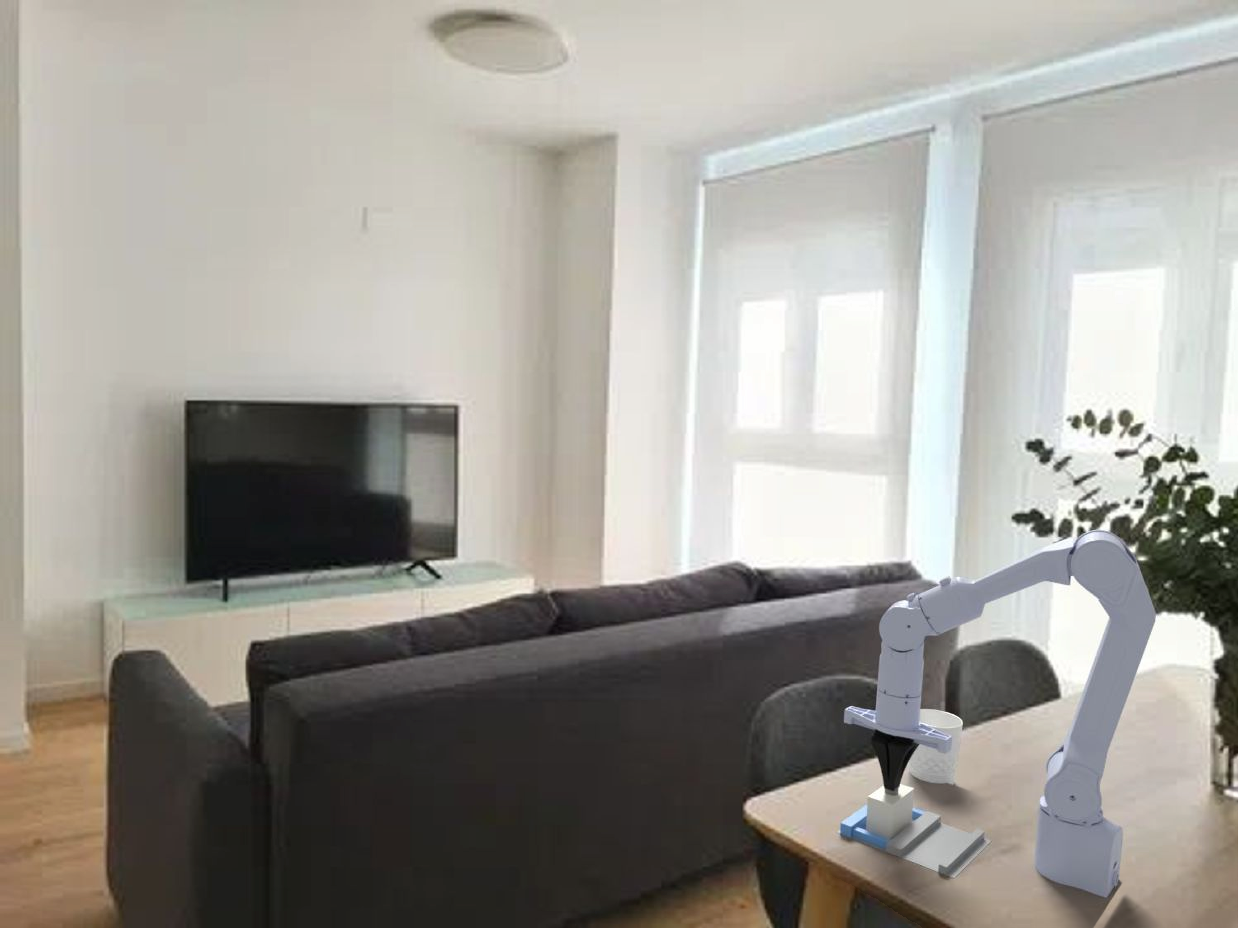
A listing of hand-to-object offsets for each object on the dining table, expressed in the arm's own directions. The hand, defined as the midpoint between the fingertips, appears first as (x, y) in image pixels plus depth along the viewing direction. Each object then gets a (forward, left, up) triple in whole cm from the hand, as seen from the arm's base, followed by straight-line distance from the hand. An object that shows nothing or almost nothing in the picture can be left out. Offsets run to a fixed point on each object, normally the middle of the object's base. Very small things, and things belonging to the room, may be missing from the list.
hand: (891, 787), depth 126 cm
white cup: (+3, -22, -7) cm, 23 cm away
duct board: (-4, 0, -7) cm, 8 cm away
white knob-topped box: (0, 0, -6) cm, 6 cm away
